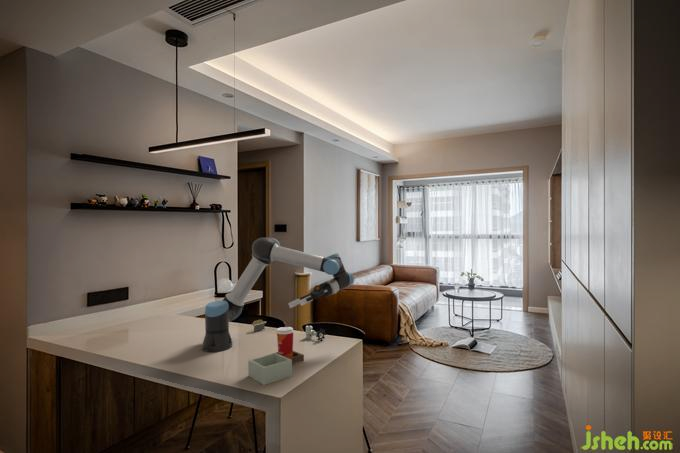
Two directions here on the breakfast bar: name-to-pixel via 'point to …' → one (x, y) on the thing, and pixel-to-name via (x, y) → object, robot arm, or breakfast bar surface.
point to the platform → (258, 325)
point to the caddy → (270, 368)
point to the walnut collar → (296, 357)
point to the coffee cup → (285, 341)
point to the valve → (314, 333)
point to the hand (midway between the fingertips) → (294, 304)
